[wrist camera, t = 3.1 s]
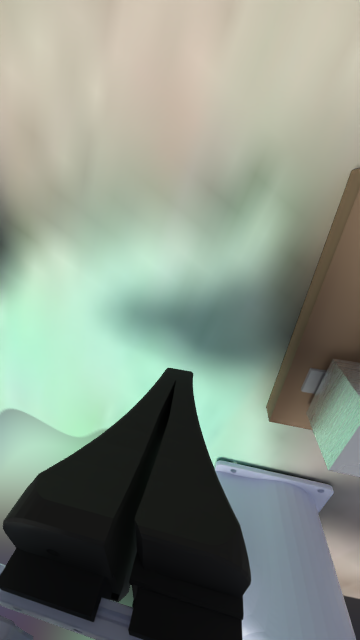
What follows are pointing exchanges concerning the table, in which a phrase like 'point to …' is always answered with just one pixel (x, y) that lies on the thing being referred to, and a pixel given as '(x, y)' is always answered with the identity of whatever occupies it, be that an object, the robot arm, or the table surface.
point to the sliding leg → (338, 417)
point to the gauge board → (324, 317)
